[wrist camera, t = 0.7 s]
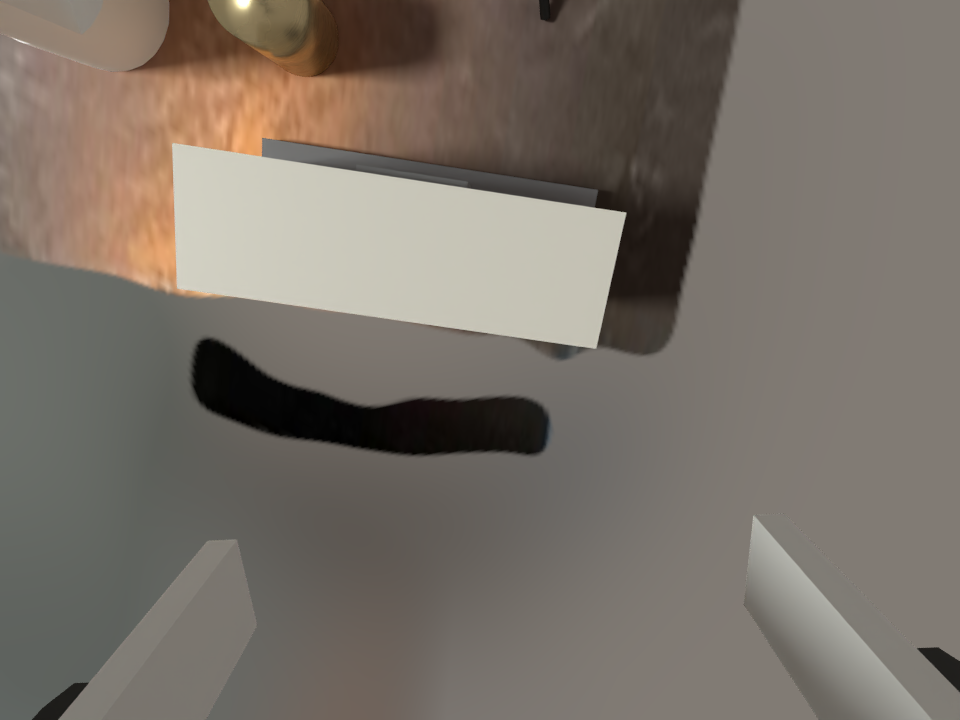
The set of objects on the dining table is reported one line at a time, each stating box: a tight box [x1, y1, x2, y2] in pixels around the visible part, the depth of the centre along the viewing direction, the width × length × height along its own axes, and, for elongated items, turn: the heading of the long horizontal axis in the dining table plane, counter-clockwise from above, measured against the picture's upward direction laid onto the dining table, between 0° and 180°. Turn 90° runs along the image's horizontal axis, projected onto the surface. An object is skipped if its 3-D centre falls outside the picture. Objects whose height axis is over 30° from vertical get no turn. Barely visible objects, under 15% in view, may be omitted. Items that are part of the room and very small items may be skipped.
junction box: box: [172, 138, 626, 349], centre depth 32 cm, size 24×10×14 cm, turn 82°
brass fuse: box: [208, 0, 339, 77], centre depth 31 cm, size 5×5×8 cm
